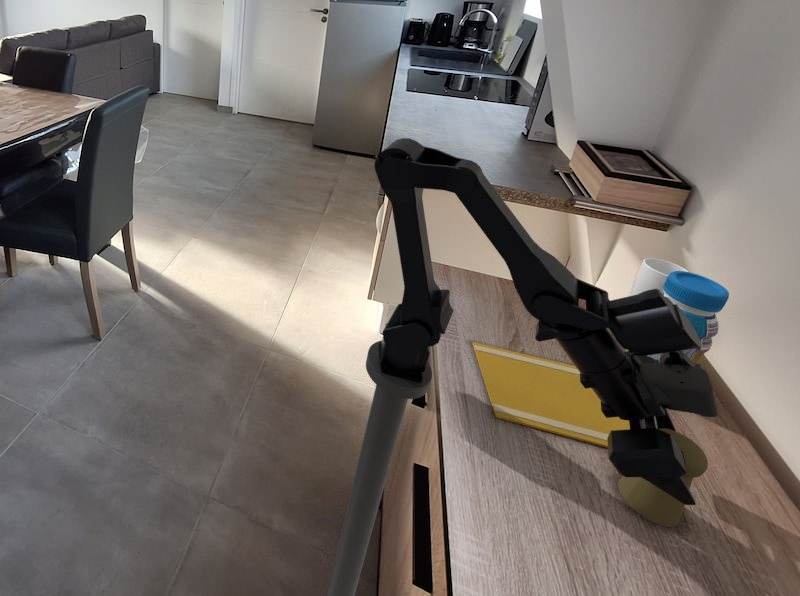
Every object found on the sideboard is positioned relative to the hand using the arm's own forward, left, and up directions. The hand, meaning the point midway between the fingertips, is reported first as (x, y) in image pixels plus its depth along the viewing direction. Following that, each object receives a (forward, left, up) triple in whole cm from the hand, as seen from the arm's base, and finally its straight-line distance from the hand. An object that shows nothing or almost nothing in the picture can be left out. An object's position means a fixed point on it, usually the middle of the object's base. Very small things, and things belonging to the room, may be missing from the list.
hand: (683, 472), depth 56 cm
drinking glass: (+15, +38, -7) cm, 42 cm away
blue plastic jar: (+11, +25, -7) cm, 29 cm away
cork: (-1, 0, -7) cm, 7 cm away
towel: (-7, +15, -7) cm, 18 cm away
